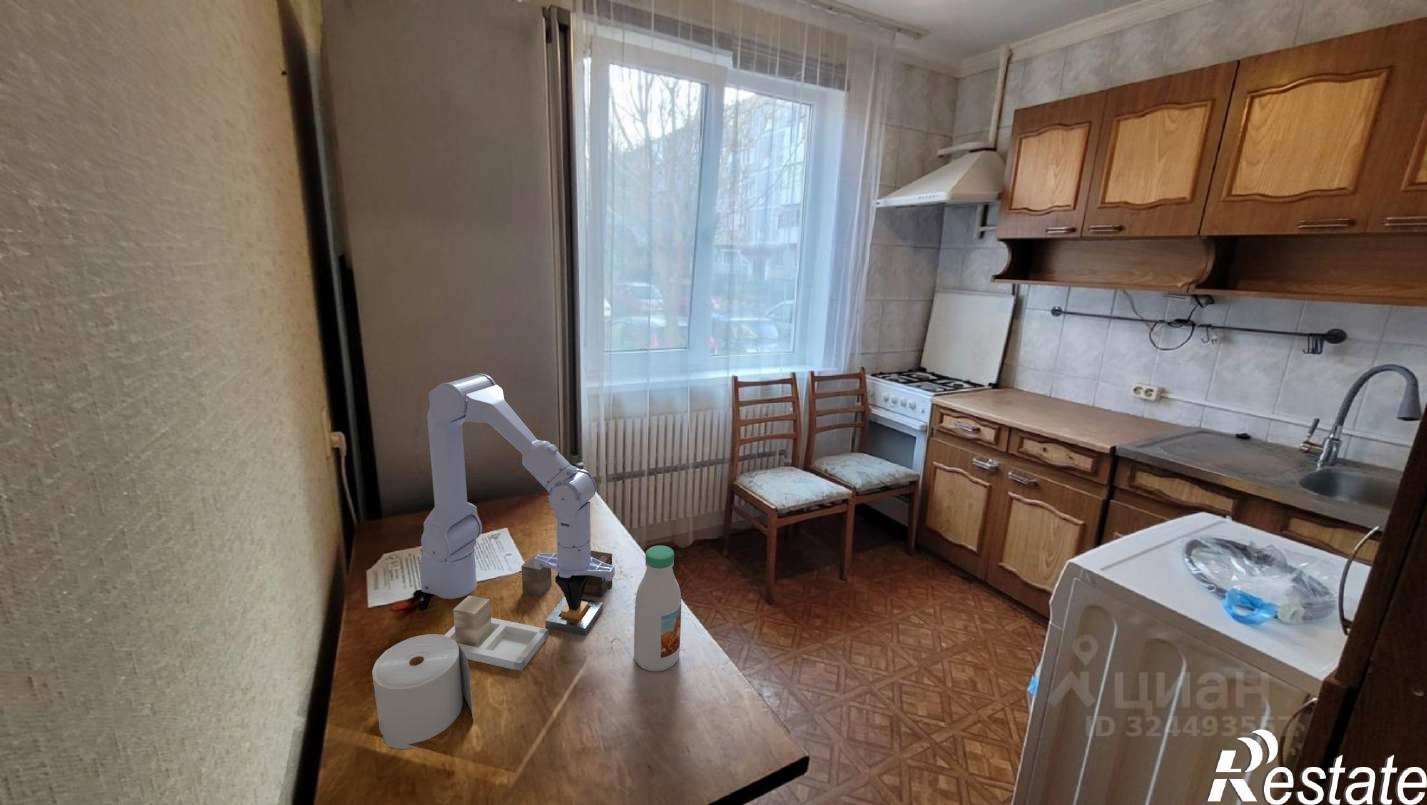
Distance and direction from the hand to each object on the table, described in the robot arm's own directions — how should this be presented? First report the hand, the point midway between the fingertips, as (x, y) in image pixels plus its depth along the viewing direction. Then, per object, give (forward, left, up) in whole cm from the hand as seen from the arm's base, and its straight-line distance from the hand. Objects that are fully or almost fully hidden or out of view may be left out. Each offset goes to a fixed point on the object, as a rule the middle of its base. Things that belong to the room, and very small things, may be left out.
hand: (574, 606), depth 99 cm
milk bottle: (+17, -4, -4) cm, 18 cm away
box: (-1, +10, -4) cm, 11 cm away
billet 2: (-11, +6, -3) cm, 13 cm away
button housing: (0, 0, -3) cm, 3 cm away
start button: (0, 0, -3) cm, 3 cm away
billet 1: (-14, -10, -2) cm, 17 cm away
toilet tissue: (-11, -25, -4) cm, 27 cm away
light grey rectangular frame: (-10, -10, -3) cm, 15 cm away
